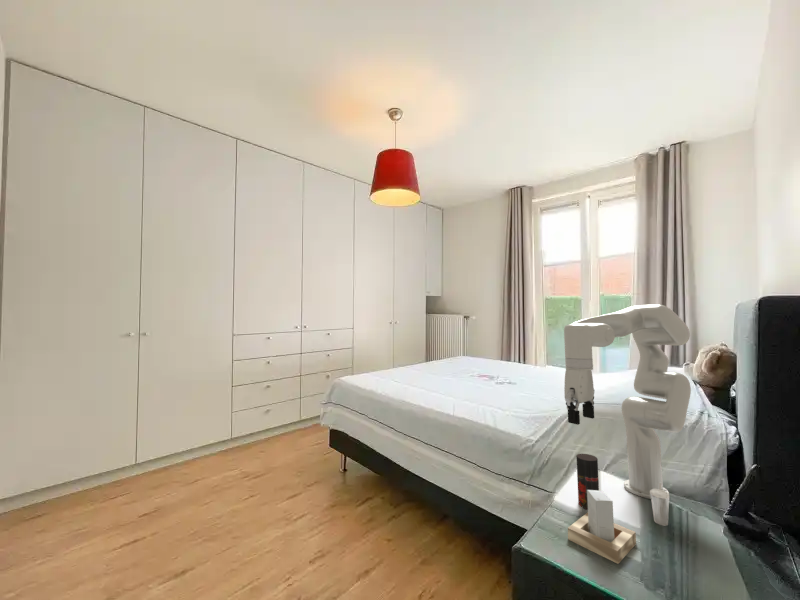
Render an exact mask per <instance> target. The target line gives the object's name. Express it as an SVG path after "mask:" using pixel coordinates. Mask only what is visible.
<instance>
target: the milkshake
mask: <svg viewBox="0 0 800 600" xmlns="http://www.w3.org/2000/svg"><path fill="white" fill-rule="evenodd" d="M650 496H651V499H650V500H651V507H652V514H653V521H654V522H655V523H656V525H659V526H665V527H666V526H668V525H669V511H670V510H669V506H670V493H669V494H668V493H667V492H665V491H664V490H661V483H659V489H652V490H650Z"/></svg>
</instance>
